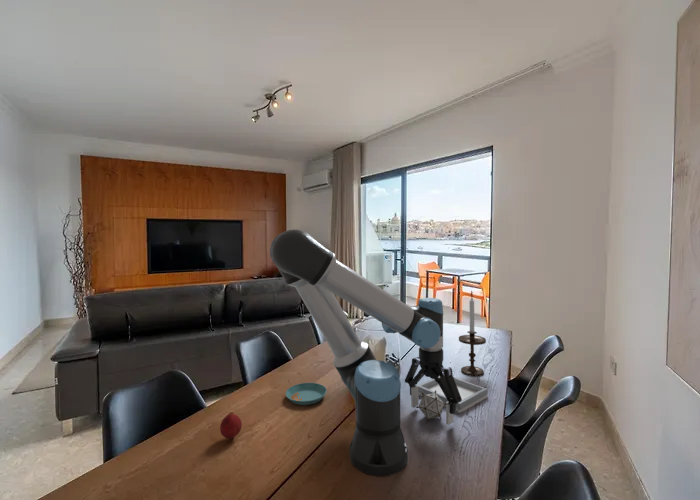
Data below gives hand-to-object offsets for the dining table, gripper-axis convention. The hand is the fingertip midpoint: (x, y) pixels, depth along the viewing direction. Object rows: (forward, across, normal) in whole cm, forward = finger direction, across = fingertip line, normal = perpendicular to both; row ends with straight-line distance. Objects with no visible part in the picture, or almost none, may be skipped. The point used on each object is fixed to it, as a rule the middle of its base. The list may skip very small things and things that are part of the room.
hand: (431, 414), depth 106 cm
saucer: (+2, +38, +23) cm, 44 cm away
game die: (+2, 0, 0) cm, 2 cm away
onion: (+1, +30, +53) cm, 61 cm away
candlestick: (+1, +12, -43) cm, 45 cm away
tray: (+1, +5, -18) cm, 19 cm away
